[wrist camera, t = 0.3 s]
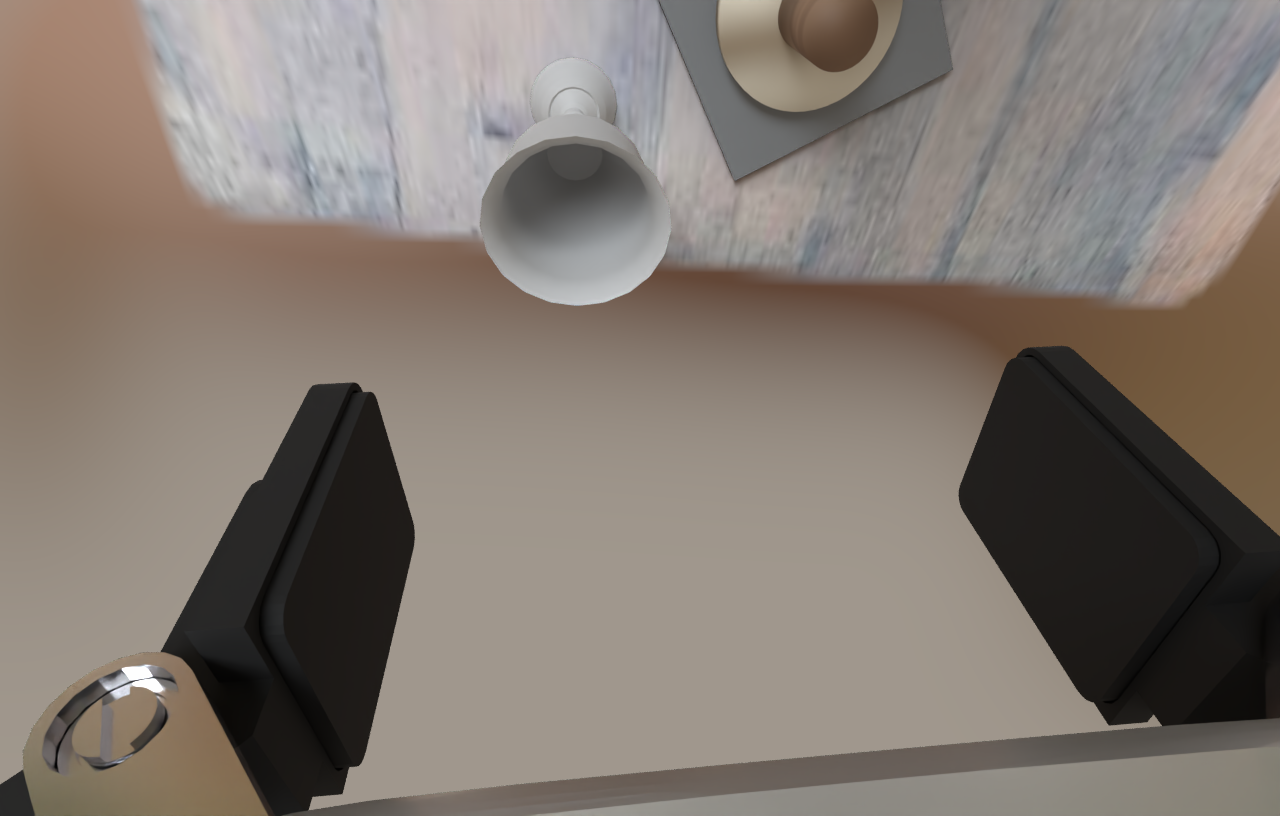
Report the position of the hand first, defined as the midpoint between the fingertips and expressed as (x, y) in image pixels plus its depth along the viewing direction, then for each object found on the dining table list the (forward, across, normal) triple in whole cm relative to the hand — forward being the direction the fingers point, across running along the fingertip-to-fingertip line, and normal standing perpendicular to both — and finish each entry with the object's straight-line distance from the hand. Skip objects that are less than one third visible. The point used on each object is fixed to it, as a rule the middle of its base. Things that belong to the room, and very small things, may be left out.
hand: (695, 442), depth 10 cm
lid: (+35, -11, -1) cm, 36 cm away
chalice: (+36, +2, +3) cm, 36 cm away
